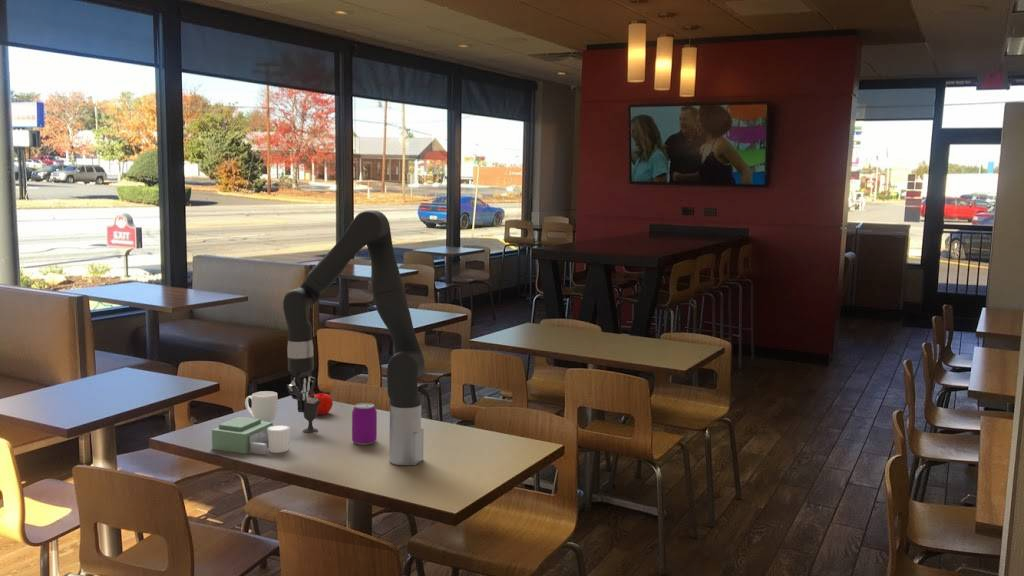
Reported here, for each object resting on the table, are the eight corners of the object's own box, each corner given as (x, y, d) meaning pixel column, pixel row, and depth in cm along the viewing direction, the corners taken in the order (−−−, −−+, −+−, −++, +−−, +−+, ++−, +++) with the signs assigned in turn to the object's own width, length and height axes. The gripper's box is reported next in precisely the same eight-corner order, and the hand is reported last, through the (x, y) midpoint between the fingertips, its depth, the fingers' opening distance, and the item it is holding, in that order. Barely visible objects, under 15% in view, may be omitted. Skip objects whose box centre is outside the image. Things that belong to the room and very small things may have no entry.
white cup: (278, 454, 250) (278, 431, 249) (262, 450, 253) (262, 428, 252) (295, 449, 256) (295, 426, 255) (278, 445, 259) (278, 423, 258)
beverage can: (367, 437, 270) (367, 400, 268) (381, 442, 264) (381, 405, 263) (347, 441, 264) (347, 404, 263) (361, 447, 259) (361, 409, 258)
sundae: (315, 434, 271) (315, 389, 269) (296, 432, 272) (296, 388, 271) (324, 429, 277) (324, 385, 276) (305, 427, 279) (305, 383, 277)
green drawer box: (272, 440, 263) (272, 418, 262) (245, 453, 250) (245, 430, 249) (240, 436, 267) (240, 414, 266) (212, 448, 254) (211, 425, 253)
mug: (283, 425, 280) (282, 392, 279) (266, 432, 272) (266, 398, 271) (254, 421, 285) (254, 388, 283) (237, 427, 277) (237, 393, 276)
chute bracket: (286, 444, 260) (286, 428, 260) (264, 454, 249) (264, 438, 249) (270, 441, 262) (270, 426, 261) (248, 452, 251) (247, 436, 251)
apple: (306, 415, 293) (306, 395, 292) (315, 410, 301) (315, 390, 300) (327, 417, 292) (327, 396, 291) (336, 411, 299) (336, 391, 299)
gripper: (299, 359, 241) (301, 418, 243) (323, 351, 254) (324, 407, 255) (277, 358, 243) (279, 416, 245) (301, 350, 256) (303, 405, 258)
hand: (302, 411), depth 250 cm, fingers closed
